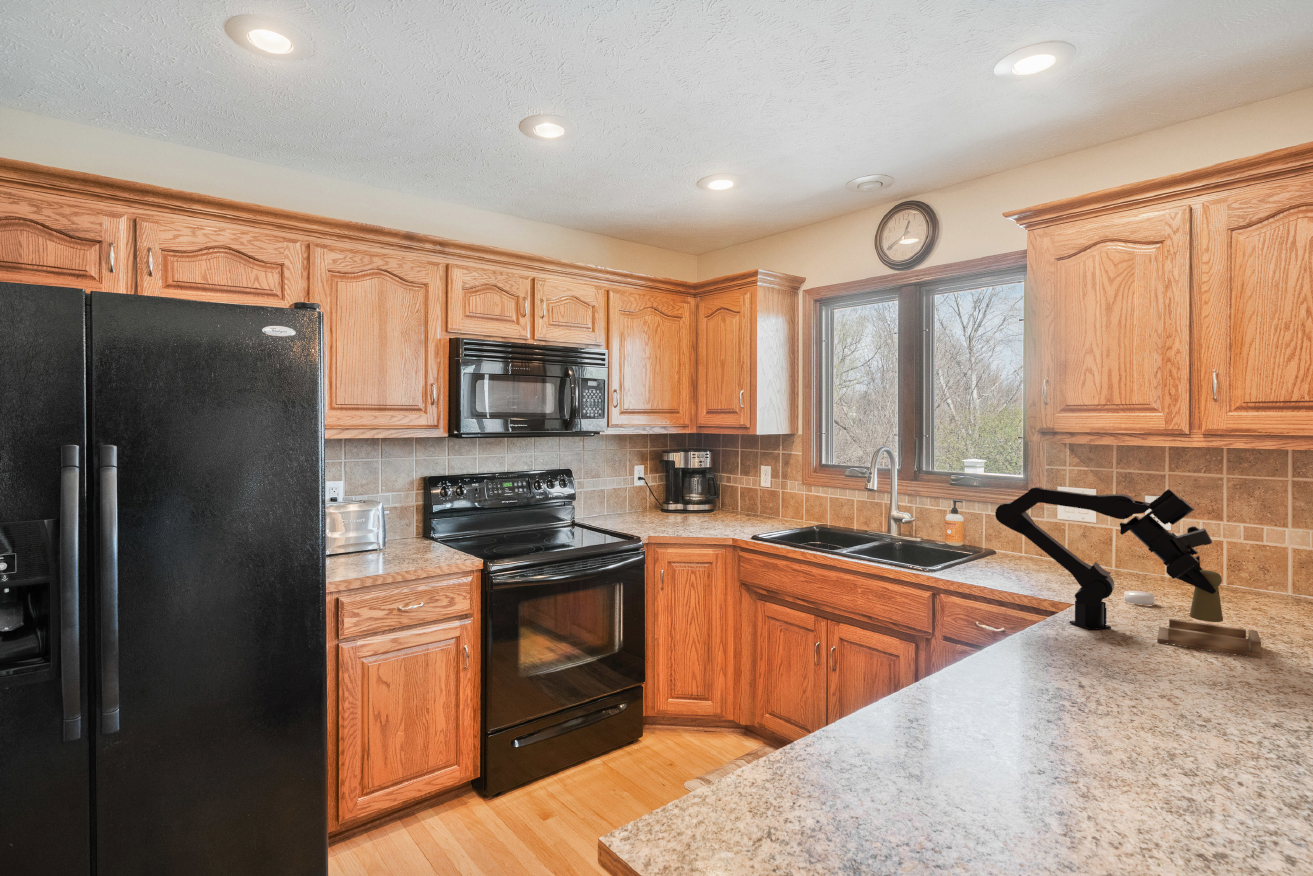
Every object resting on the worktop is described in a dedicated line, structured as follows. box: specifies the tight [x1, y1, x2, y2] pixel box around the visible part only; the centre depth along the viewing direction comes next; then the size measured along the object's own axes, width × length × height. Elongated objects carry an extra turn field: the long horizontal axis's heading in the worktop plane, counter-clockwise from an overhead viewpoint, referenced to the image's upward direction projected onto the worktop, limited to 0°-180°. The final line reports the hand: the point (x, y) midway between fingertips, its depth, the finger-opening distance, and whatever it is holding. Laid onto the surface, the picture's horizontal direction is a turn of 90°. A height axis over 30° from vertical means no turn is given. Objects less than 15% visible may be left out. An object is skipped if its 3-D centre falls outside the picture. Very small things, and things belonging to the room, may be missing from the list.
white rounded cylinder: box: [1123, 590, 1155, 605], centre depth 193 cm, size 7×7×3 cm
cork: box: [1189, 569, 1224, 623], centre depth 155 cm, size 6×6×11 cm
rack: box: [1156, 618, 1262, 660], centre depth 155 cm, size 18×12×4 cm, turn 52°
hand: (1214, 590), depth 154 cm, fingers closed on cork, 5 cm apart
